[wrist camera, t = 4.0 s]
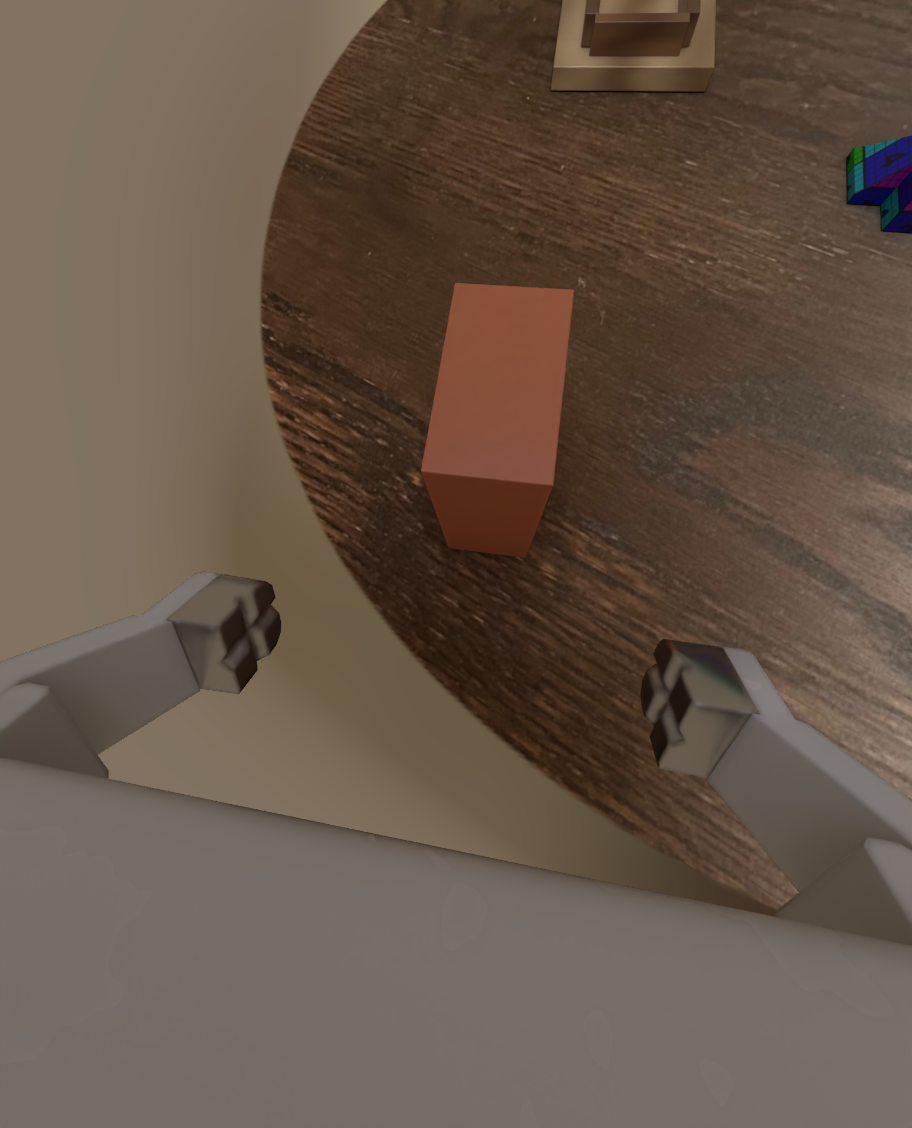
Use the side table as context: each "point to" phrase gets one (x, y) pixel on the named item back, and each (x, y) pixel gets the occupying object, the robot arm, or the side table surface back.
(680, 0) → the pad base
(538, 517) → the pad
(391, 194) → the side table surface
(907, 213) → the numbered block arch
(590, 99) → the side table surface
